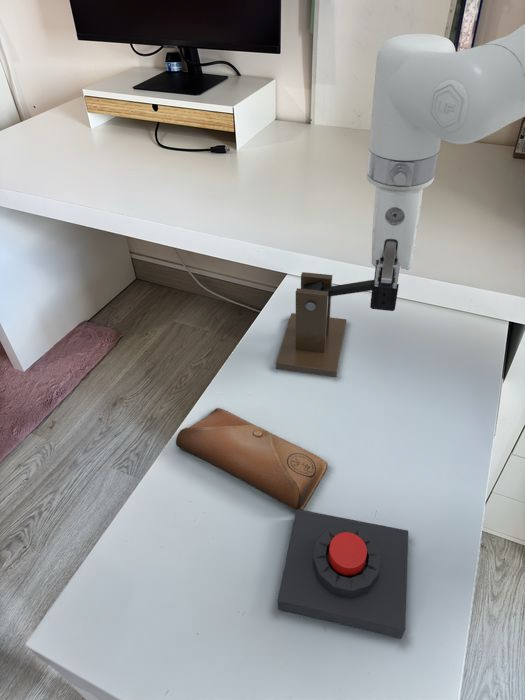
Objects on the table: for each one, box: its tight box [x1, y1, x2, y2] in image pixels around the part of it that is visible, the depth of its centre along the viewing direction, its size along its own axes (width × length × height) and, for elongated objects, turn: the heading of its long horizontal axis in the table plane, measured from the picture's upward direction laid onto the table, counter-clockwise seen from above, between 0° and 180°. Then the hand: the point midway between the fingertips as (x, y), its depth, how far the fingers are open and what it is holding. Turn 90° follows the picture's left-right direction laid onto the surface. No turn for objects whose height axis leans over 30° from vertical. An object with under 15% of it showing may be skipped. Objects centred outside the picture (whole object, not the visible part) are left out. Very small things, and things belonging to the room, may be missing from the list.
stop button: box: [329, 532, 367, 576], centre depth 49 cm, size 4×4×2 cm
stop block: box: [277, 509, 409, 639], centre depth 51 cm, size 12×10×4 cm
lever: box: [303, 271, 382, 298], centre depth 70 cm, size 12×5×2 cm, turn 76°
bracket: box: [275, 271, 348, 377], centre depth 74 cm, size 9×12×12 cm
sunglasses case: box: [175, 407, 328, 511], centre depth 62 cm, size 18×7×7 cm
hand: (384, 294), depth 69 cm, fingers open, 5 cm apart
